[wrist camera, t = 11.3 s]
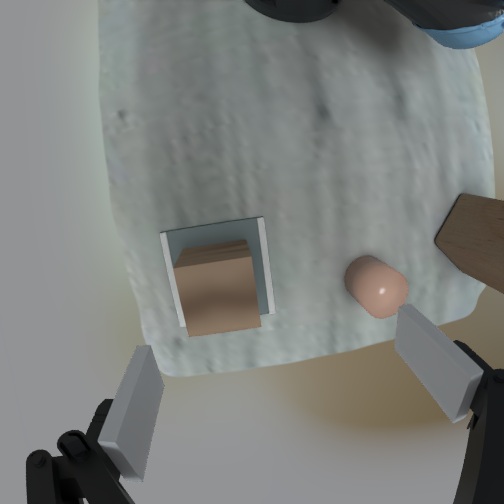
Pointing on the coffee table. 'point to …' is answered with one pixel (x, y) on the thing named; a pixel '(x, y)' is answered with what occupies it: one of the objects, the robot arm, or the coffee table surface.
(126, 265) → the coffee table surface
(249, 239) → the mat
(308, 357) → the coffee table surface
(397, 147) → the coffee table surface
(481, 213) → the wooden block
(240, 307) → the cube
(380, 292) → the pink cylinder
